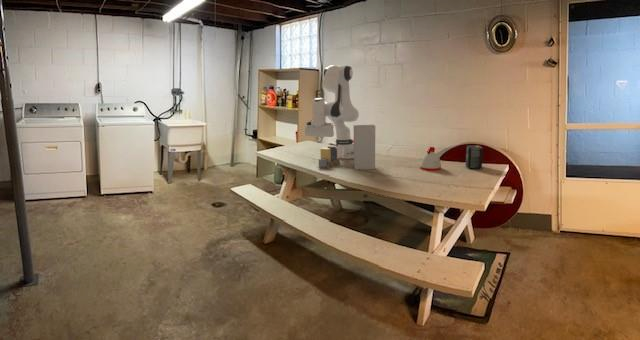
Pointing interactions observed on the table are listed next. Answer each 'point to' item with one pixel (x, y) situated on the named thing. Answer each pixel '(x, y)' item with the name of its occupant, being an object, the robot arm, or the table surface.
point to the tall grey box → (364, 147)
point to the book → (326, 154)
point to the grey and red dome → (430, 161)
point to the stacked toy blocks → (332, 157)
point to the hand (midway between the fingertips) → (319, 142)
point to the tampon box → (474, 156)
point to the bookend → (323, 163)
